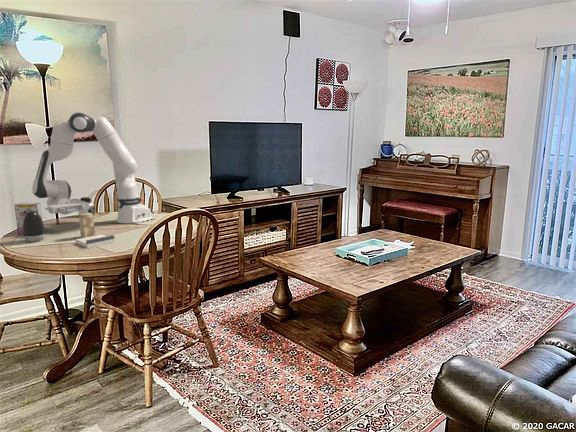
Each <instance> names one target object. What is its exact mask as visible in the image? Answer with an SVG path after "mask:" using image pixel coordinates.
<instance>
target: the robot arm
mask: <svg viewBox="0 0 576 432" xmlns="http://www.w3.org/2000/svg"><path fill="white" fill-rule="evenodd" d="M90 132H91V133H92V134H93V135H94V136H95V138H96V139H97V141H98V143H99V145H100V146H101V148H102V150H103V151H104V153H106V155H107V156H108V158H109V159H110V160H111V162H112V166H113V167H112V169H113V173H114V175H113V176H114V178H115V184H116V185H115V186H116V193H117V197H116V198H117V199H116V202H117V203H116V204H117V209H118V211H117V218H116V222H117V223H118V224H140V223H144V222H148V221H147V220H149V221H152V220H151V219H153V220H155V219H154V218H156V216H155V215H152V212H151V209H150V208H149V207H148V206H146V205H144V204H143V203H142V202H144V200H145V198H143V197H138V187H137V183H136V177H135V173H136V172H137V170H138V164H137V161H136V160H135V159H134V156H133V155H132V154H131V153H130V151H129V149H128V148H127V147H126V146H125V144H124V143H123V141H122V140H121V138H120V136H119V134H118V133H117V131H116V130H115V128H114V127H113V125H112V123H110V121H109V120H108V119H107V118H106V117H105V116H101V115H99V116H95V117H90V116H89V115H88V114H87V113H85V112H83V111H76V112H74V113H72V114H71V115H70V117H69V118H68V119H67V121H60V122H56V123H54V125H53V128H52V132H51V134H50V136H51V137H50V144H49V146H48V148H47V149H46V150H44V151H43V152H42V154H41V157H40V160H39V163H38V167H37V171H36V175H35V179H34V181H33V184H32V189H31V190H32V193H33V195H34V196H35V197H36V198H39V199H47V198H48V199H47V200H46V206H47V207H44V209H45V210H46V211H48V213H49V214H53V215H54V214H61V215H69V214H72V213H74V212H78V211H80V210H88V209H89V203H88V202H85V201H81V200H80V199H81V198H71V196H72V188H71V186H70V184H69V182H67V180H61V179H59V180H57V179H55V180H54V179H47V176H48V172H49V168H50V166H51V165H52V164H53V163H55V162H58V161H61V160H64V159H67V158H68V157H70V156H71V155H72V154H73V150H74V139H75V135H76V134H77V133H80V134H82V133H83V134H84V133H90ZM143 221H144V222H143Z"/></svg>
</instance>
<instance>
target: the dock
mask: <svg viewBox="0 0 576 432" xmlns="http://www.w3.org/2000/svg"><path fill="white" fill-rule="evenodd" d="M115 242H116V241H115V235H113V234H112V235H108V236H107V235H104V234H98V235H95V236H91V237H86V238H83V237H81V238H77V239H75V243H76V245H79V246H82V247H84V248H87V249H91V248H95V247H102V246H105V245H109V244H114V243H115Z"/></svg>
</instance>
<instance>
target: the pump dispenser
mask: <svg viewBox="0 0 576 432" xmlns="http://www.w3.org/2000/svg"><path fill="white" fill-rule="evenodd" d="M24 214H25V217H24V220H23V225H22V234H21V235H22V236H23V238H24V240H25V241H27V242H29V243H30V242H31V243H36V242H39V241H42V240H43V239H44V237H45V235H46V227H45V224H44V222H43V218H42V219H41V217H40V216H39V214H38V213H37V212H35V211H29V212H24Z"/></svg>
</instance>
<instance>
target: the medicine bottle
mask: <svg viewBox="0 0 576 432" xmlns="http://www.w3.org/2000/svg"><path fill="white" fill-rule="evenodd" d="M79 199H80V200H81V201H85V202H88V203H89V209H88V210H80V211H77V212H78V215H79V214H84V213H91V214H93V215H94V216H96V215H97V213H96V204H93V203H92V197H87V196H86V197H80V198H79Z"/></svg>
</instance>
